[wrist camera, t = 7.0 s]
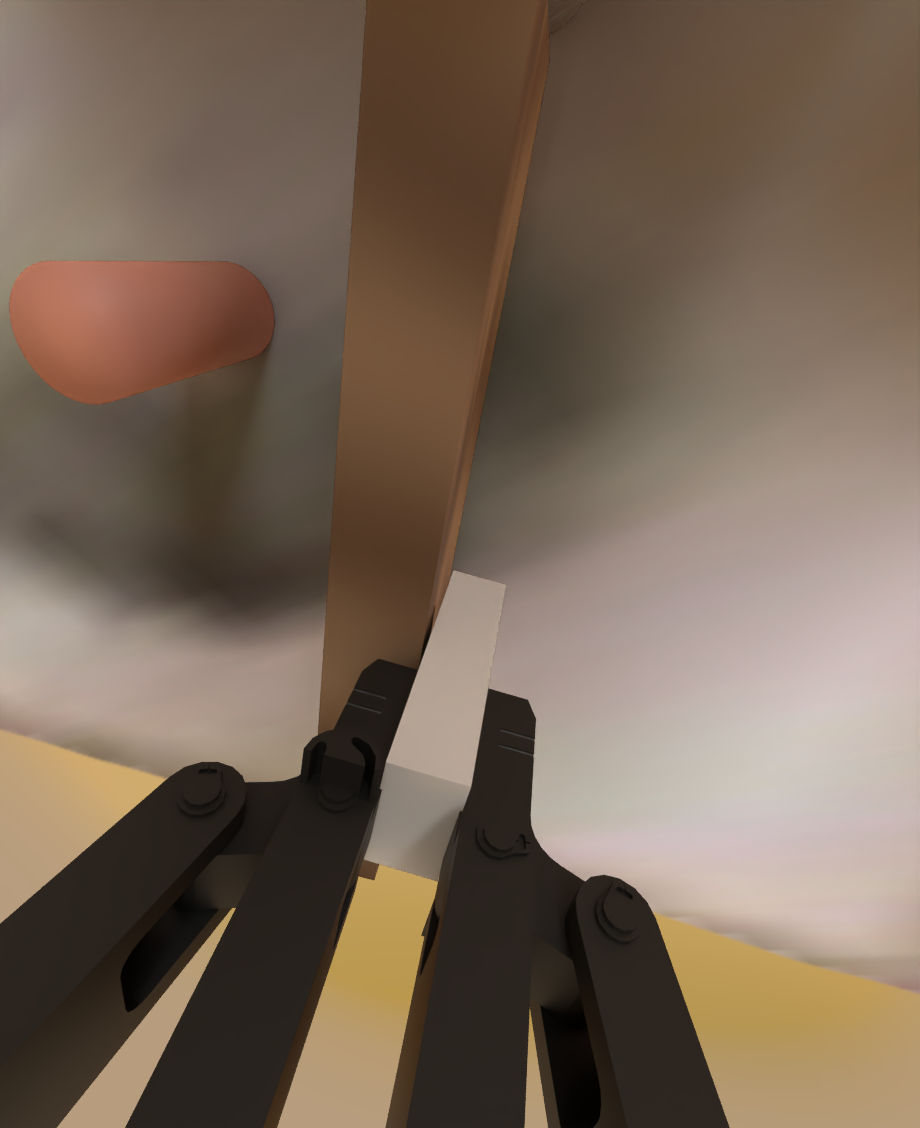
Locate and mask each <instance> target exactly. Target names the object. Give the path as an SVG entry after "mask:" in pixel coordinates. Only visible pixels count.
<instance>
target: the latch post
mask: <svg viewBox="0 0 920 1128" xmlns="http://www.w3.org/2000/svg"><path fill="white" fill-rule="evenodd" d="M9 311H10V320H11V324H12V329H13V332H14V335H15V338H16V340H17V343H18V345H19V347H20V349H21V351H22V353H23V355H24V356H25V358H26V359H27V361H28V362H29V364H30V365H31V366H32V368H33V369H34V370H35V371H36V373H37V374H38V375H39V376H40V377H41V378H42V379H43V380H44V381H45V382H46V383H47V384H49V385H50V386H51V387H52V388H54V389H55V390H56V391H58V392H60V393H61V394H63V395H64V396H66V397H69V398H71V399H73V400H76V401H78V402H82V403H87V404H105V403H109V402H112V401H116V400H119V399H122V398H125V397H128V396H132V395H135V394H138V393H141V392H144V391H148V390H151V389H154V388H157V387H160V386H164V385H167V384H170V383H173V382H176V381H180V380H183V379H186V378H189V377H192V376H196V375H199V374H202V373H205V372H209V371H212V370H215V369H218V368H221V367H225V366H228V365H231V364H234V363H237V362H241V361H244V360H247V359H250V358H253V357H255V356H257V355H259V354H260V353H261V352H262V351H263V350H264V349H265V348H266V347H267V346H268V344H269V342H270V340H271V338H272V335H273V331H274V311H273V307H272V303H271V300H270V298H269V296H268V293H267V291H266V290H265V288H264V286H263V285H262V284H261V282H260V281H259V280H258V279H257V278H256V277H255V276H254V275H253V274H252V273H251V272H250V271H248V270H247V269H245V268H244V267H242V266H240V265H237V264H235V263H231V262H222V261H43V262H39V263H36V264H33V265H31V266H29V267H27V268H26V269H25V270H24V271H23V272H22V273H21V274H20V275H19V276H18V278H17V279H16V281H15V283H14V285H13V288H12V291H11V295H10V308H9Z"/></svg>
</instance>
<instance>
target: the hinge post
mask: <svg viewBox="0 0 920 1128" xmlns="http://www.w3.org/2000/svg"><path fill="white" fill-rule="evenodd" d="M583 2H584V0H548V25H549V34H550V33H552V32H554V31H556V30H558V29H559V28H561V27H562V26H563V25H565V24H566V23H567V22H568V21H569V20H570V19H571V18H572V17H573V16H574V15H575V13H576V12H577V11H578V10H579V8H580V7H581V5H582V4H583Z"/></svg>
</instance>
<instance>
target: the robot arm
mask: <svg viewBox="0 0 920 1128" xmlns="http://www.w3.org/2000/svg"><path fill="white" fill-rule="evenodd" d="M505 588H506V585H505V584H501V583H497V582H494V581H490V580H487V579H483V578H480V577H476V576H472V575H469V574H465V573H462V572H458V571H455V570H454V571H453V573H452V576H451V579H450V582H449V585H448V588H447V590H446V593H445V596H444V599H443V602H442V605H441V607H440V610H439V613H438V616H437V619H436V622H435V624H434V627H433V630H432V633H431V636H430V639H429V641H428V644H427V647H426V650H425V653H424V656H423V658H422V661H421V664H420V667H419V670H417V669H413V668H410V667H406V666H403V665H399V664H396V663H392V662H389V661H385V660H382V659H377V660H376V661H374V662H373V663H372V664H370V665H369V666H368V667H366V668H365V669H364V670H362V672H361V674H360V676H359V678H358V680H357V682H356V684H355V686H354V689H353V691H352V693H351V695H350V697H349V699H348V701H347V704H346V705H345V707H344V709H343V711H342V713H341V715H340V717H339V719H338V721H337V723H336V725H335V727H334V729H333V730H329V731H325V732H323V733H321V734H319V735H317V736H316V737H314V738H312V740H311V741H310V742H309V743H308V744H307V746H306V747H305V748H304V752H303V760H302V768H301V775H299V776H297V777H295V778H292V779H288V780H285V781H277V782H244V779H243V776H242V775H241V774H240V773H239V772H238V771H236V770H235V769H234V768H233V767H231V766H228V765H225V764H222V763H219V762H201V763H197V764H194V765H190V766H187V767H184V768H183V769H181V770H180V771H178V772H176V773H175V774H173V775H172V776H170V777H169V778H168V779H167V780H165V781H164V782H163V783H162V784H161V785H160V786H159V787H157V788H156V789H155V790H154V791H153V792H152V793H151V794H149V795H148V796H147V797H146V798H145V799H144V800H142V801H141V802H140V803H139V804H138V805H137V806H136V807H134V808H133V809H132V810H131V811H130V812H129V813H127V814H126V815H125V816H124V817H123V818H122V819H120V820H119V821H118V822H117V823H116V824H115V825H114V826H112V827H111V828H110V829H109V830H108V831H107V832H105V833H104V834H103V835H102V836H101V837H100V838H99V839H97V840H96V841H95V842H94V843H93V844H92V845H91V846H90V847H88V848H87V849H86V850H85V851H84V852H82V853H81V854H80V855H79V856H78V857H77V858H76V859H74V860H73V861H72V862H71V863H70V864H69V865H67V866H66V867H65V868H64V869H63V870H62V871H61V872H60V873H58V874H57V875H56V876H55V877H54V878H53V879H52V880H50V881H49V882H48V883H47V884H46V885H45V886H43V887H42V888H41V889H40V890H39V891H38V892H36V893H35V894H34V895H33V896H32V897H31V898H29V899H28V900H27V901H26V902H25V903H24V904H23V905H21V906H20V907H19V908H18V909H17V910H16V911H14V912H13V913H12V914H11V915H10V916H9V917H8V918H6V919H5V920H4V921H3V922H2V923H1V924H0V1128H57V1126H58V1125H59V1124H60V1123H61V1121H62V1120H63V1119H64V1117H65V1116H66V1115H67V1114H68V1113H69V1111H70V1110H71V1109H72V1108H73V1106H74V1105H75V1104H76V1103H77V1101H78V1100H79V1099H80V1098H81V1096H82V1095H83V1094H84V1093H85V1091H86V1090H87V1089H88V1088H89V1086H90V1085H91V1084H92V1083H93V1081H94V1080H95V1079H96V1078H97V1076H98V1075H99V1074H100V1073H101V1071H102V1070H103V1069H104V1068H105V1066H106V1065H107V1064H108V1062H109V1061H110V1060H111V1059H112V1058H113V1056H114V1055H115V1054H116V1053H117V1051H118V1050H119V1049H120V1048H121V1046H122V1045H123V1044H124V1043H125V1041H126V1040H127V1039H128V1038H129V1036H130V1035H131V1034H132V1032H133V1031H134V1030H135V1029H136V1027H137V1026H138V1025H139V1024H140V1023H141V1021H142V1020H143V1019H144V1018H145V1016H146V1015H147V1014H148V1013H149V1011H150V1010H151V1009H152V1007H153V1006H154V1005H155V1003H157V1001H158V1000H159V998H161V996H162V995H163V994H164V993H165V991H166V990H167V989H168V988H169V986H170V985H171V984H172V983H173V981H174V980H175V979H176V978H177V976H178V975H179V974H180V973H181V971H182V970H183V969H184V967H185V966H186V965H187V964H188V963H189V961H190V960H191V959H192V958H193V956H194V955H195V954H196V953H197V951H198V950H199V948H201V946H202V945H203V944H204V943H205V941H206V940H207V939H208V938H209V936H210V935H211V934H212V933H213V931H214V930H215V929H216V927H217V926H218V925H219V923H220V922H221V921H222V920H223V919H224V917H225V916H226V915H227V914H228V912H229V911H230V910H231V909H232V908H236V909H235V911H234V913H233V915H232V917H231V919H230V921H229V923H228V925H227V927H226V929H225V931H224V933H223V935H222V937H221V939H220V941H219V943H218V945H217V947H216V949H215V951H214V953H213V955H212V957H211V959H210V961H209V963H208V965H207V967H206V969H205V971H204V973H203V975H202V977H201V979H200V981H199V983H198V985H197V987H196V989H195V991H194V993H193V995H192V996H191V998H190V1000H189V1002H188V1004H187V1006H186V1008H185V1010H184V1012H183V1014H182V1016H181V1018H180V1021H179V1022H178V1024H177V1026H176V1028H175V1030H174V1032H173V1034H172V1036H171V1038H170V1040H169V1042H168V1044H167V1046H166V1048H165V1050H164V1052H163V1054H162V1056H161V1058H160V1060H159V1062H158V1064H157V1066H156V1068H155V1070H154V1072H153V1074H152V1076H151V1078H150V1080H149V1082H148V1084H147V1086H146V1088H145V1090H144V1091H143V1094H142V1095H141V1098H140V1099H139V1102H138V1103H137V1106H136V1107H135V1110H134V1111H133V1113H132V1115H131V1117H130V1119H129V1121H128V1123H127V1125H126V1127H125V1128H277V1126H278V1123H279V1120H280V1117H281V1114H282V1110H283V1108H284V1105H285V1101H286V1099H287V1096H288V1093H289V1090H290V1087H291V1083H292V1080H293V1077H294V1074H295V1071H296V1068H297V1065H298V1062H299V1059H300V1056H301V1053H302V1050H303V1047H304V1044H305V1041H306V1038H307V1035H308V1032H309V1029H310V1026H311V1023H312V1020H313V1017H314V1014H315V1010H316V1008H317V1005H318V1001H319V998H320V995H321V992H322V989H323V986H324V983H325V980H326V977H327V974H328V971H329V968H330V965H331V962H332V959H333V956H334V953H335V949H336V947H337V944H338V941H339V938H340V935H341V932H342V929H343V926H344V923H345V920H346V916H347V913H348V910H349V907H350V904H351V901H352V898H353V895H354V892H355V888H356V884H357V880H358V875H359V872H360V869H361V866H362V863H363V860H367V861H370V862H374V863H377V864H381V865H384V866H387V867H391V868H394V869H397V870H401V871H404V872H408V873H411V874H414V875H418V876H421V877H424V878H428V879H431V880H434V881H438V878H439V881H438V885H437V891H436V895H435V899H434V902H433V905H432V907H431V910H430V913H429V915H428V918H427V921H426V924H425V927H424V929H423V932H422V936H425V937H424V942H423V947H422V951H421V957H420V962H419V966H418V971H417V976H416V982H415V986H414V991H413V996H412V1000H411V1005H410V1011H409V1015H408V1020H407V1025H406V1030H405V1035H404V1040H403V1045H402V1049H401V1055H400V1059H399V1065H398V1069H397V1074H396V1079H395V1084H394V1089H393V1094H392V1099H391V1104H390V1108H389V1113H388V1118H387V1123H386V1128H524V1124H525V1101H526V1078H527V1054H528V1032H529V1031H528V1030H529V1009H530V1011H531V1017H532V1024H533V1031H534V1037H535V1043H536V1050H537V1057H538V1064H539V1070H540V1077H541V1083H542V1090H543V1096H544V1103H545V1110H546V1116H547V1122H548V1128H729V1125H728V1122H727V1119H726V1116H725V1113H724V1111H723V1108H722V1105H721V1102H720V1099H719V1097H718V1094H717V1091H716V1088H715V1085H714V1082H713V1079H712V1077H711V1074H710V1071H709V1068H708V1065H707V1062H706V1060H705V1057H704V1054H703V1051H702V1048H701V1045H700V1042H699V1040H698V1037H697V1034H696V1031H695V1028H694V1025H693V1023H692V1020H691V1017H690V1014H689V1011H688V1009H687V1006H686V1003H685V1000H684V997H683V994H682V991H681V989H680V986H679V983H678V980H677V977H676V974H675V972H674V969H673V966H672V963H671V960H670V958H669V955H668V952H667V949H666V946H665V943H664V941H663V938H662V935H661V932H660V929H659V926H658V924H657V921H656V918H655V916H654V914H653V912H652V910H651V908H650V907H649V905H648V903H647V901H646V900H645V899H644V898H643V897H642V896H641V895H640V894H639V893H638V892H637V890H636V889H635V888H633V887H632V886H630V885H629V884H627V883H625V882H624V881H622V880H621V879H619V878H615V877H611V876H607V875H601V876H595V877H590V878H589V879H588V880H587V881H586V882H585V881H583V880H582V879H580V878H579V877H577V876H576V875H574V874H573V873H571V872H569V871H568V870H566V869H565V868H563V867H562V866H560V865H559V864H558V863H556V862H555V861H554V860H553V859H551V858H550V857H549V856H548V855H547V854H546V852H545V851H544V850H543V849H542V848H541V846H540V845H539V843H538V841H537V839H536V838H535V836H534V833H533V830H532V826H531V816H530V814H531V797H532V779H533V762H534V758H533V755H534V744H535V742H534V739H535V726H536V718H535V716H534V713H533V711H532V709H531V706H530V704H529V701H528V700H527V699H523V698H520V697H516V696H513V695H509V694H506V693H502V692H499V691H495V690H492V689H488V686H489V681H490V675H491V669H492V663H493V657H494V652H495V646H496V640H497V634H498V629H499V623H500V617H501V611H502V606H503V600H504V594H505Z"/></svg>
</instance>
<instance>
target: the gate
mask: <svg viewBox="0 0 920 1128" xmlns="http://www.w3.org/2000/svg"><path fill="white" fill-rule="evenodd" d="M549 62H550V52H549V25H548V0H367V2H366V17H365V32H364V47H363V62H362V77H361V92H360V108H359V123H358V138H357V153H356V168H355V183H354V198H353V213H352V228H351V243H350V258H349V273H348V288H347V304H346V319H345V334H344V349H343V364H342V379H341V394H340V409H339V424H338V439H337V454H336V469H335V485H334V500H333V515H332V530H331V545H330V560H329V575H328V590H327V605H326V620H325V635H324V650H323V665H322V681H321V696H320V711H319V726H318V735H319V734H321V733H323V732H325V731H329V730H333V729H334V727H335V725H336V723H337V721H338V719H339V717H340V715H341V713H342V711H343V709H344V707H345V705H346V704H347V701H348V699H349V697H350V695H351V693H352V691H353V689H354V686H355V684H356V682H357V680H358V678H359V676H360V674H361V672H362V670H364V669H365V668H366V667H368V666H369V665H370V664H372V663H373V662H374V661H376V660H377V659H382V660H385V661H389V662H392V663H396V664H399V665H403V666H406V667H410V668H413V669H417V670H419V667H420V664H421V661H422V658H423V656H424V653H425V650H426V647H427V644H428V641H429V639H430V636H431V633H432V630H433V627H434V624H435V622H436V619H437V616H438V613H439V610H440V607H441V605H442V602H443V599H444V596H445V593H446V590H447V588H448V585H449V580H450V575H451V569H452V564H453V559H454V554H455V549H456V544H457V538H458V533H459V528H460V523H461V518H462V512H463V507H464V502H465V497H466V492H467V487H468V481H469V476H470V471H471V466H472V461H473V455H474V450H475V445H476V440H477V435H478V430H479V424H480V419H481V414H482V409H483V404H484V399H485V393H486V388H487V383H488V378H489V373H490V367H491V362H492V357H493V352H494V347H495V342H496V336H497V331H498V326H499V321H500V316H501V310H502V305H503V300H504V295H505V290H506V285H507V279H508V274H509V269H510V264H511V259H512V254H513V248H514V243H515V238H516V233H517V228H518V222H519V217H520V212H521V207H522V202H523V197H524V191H525V186H526V181H527V176H528V171H529V165H530V160H531V155H532V150H533V145H534V140H535V134H536V129H537V124H538V119H539V114H540V109H541V103H542V98H543V93H544V88H545V83H546V77H547V72H548V67H549ZM378 866H379V864H377V863H374V862H370V861H367V860H363V863H362V866H361V869H360V872H359V875H358V876H360V877H363V878H367V879H371V880H374V879H375V876H376V872H377V869H378Z"/></svg>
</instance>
